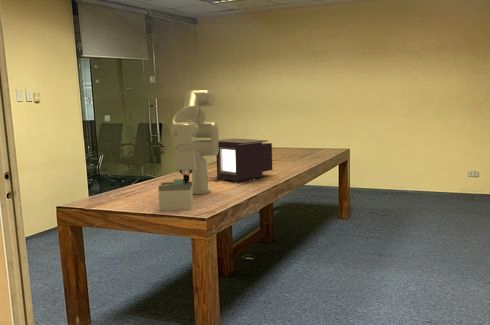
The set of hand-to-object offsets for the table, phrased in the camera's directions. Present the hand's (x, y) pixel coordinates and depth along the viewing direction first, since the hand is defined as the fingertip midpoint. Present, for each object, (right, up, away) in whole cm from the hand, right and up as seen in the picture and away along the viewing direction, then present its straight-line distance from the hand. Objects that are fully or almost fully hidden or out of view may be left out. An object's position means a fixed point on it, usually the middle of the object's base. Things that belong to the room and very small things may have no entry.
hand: (186, 182), depth 237 cm
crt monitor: (+31, -1, +87) cm, 92 cm away
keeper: (-4, 0, 0) cm, 4 cm away
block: (-5, -13, +2) cm, 14 cm away
